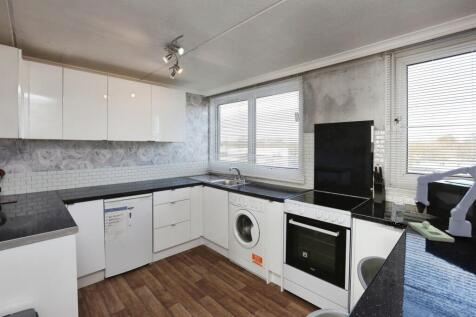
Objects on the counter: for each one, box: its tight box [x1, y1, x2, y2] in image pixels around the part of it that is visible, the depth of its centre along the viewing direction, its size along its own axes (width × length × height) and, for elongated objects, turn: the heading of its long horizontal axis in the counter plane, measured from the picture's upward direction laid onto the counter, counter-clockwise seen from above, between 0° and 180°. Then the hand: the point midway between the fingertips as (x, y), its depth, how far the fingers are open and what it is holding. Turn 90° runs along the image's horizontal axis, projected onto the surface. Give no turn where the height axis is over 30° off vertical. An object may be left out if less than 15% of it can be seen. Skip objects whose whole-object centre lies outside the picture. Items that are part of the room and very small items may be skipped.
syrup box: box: [390, 201, 406, 225], centre depth 160 cm, size 6×6×14 cm
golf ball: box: [422, 220, 431, 228], centre depth 146 cm, size 4×4×4 cm
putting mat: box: [408, 221, 455, 243], centre depth 142 cm, size 12×26×2 cm, turn 165°
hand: (420, 213), depth 153 cm, fingers closed
